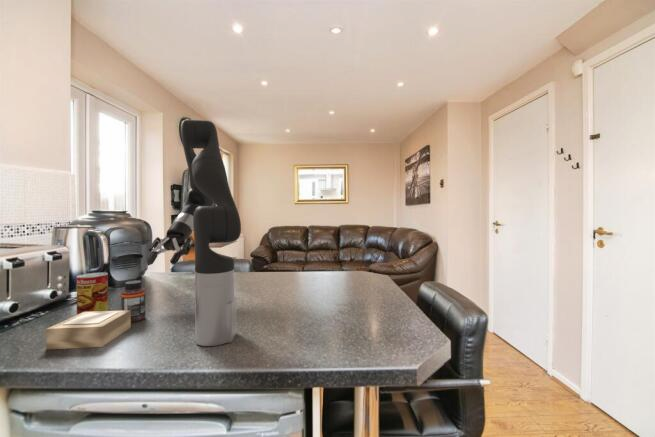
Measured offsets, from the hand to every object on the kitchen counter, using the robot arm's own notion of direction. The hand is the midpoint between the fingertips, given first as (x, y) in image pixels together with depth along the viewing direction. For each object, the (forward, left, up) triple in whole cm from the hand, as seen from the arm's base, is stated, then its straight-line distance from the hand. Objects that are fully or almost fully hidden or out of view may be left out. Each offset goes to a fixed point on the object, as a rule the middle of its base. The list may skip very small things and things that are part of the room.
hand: (160, 263), depth 98 cm
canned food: (+20, +2, -15) cm, 25 cm away
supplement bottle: (+3, +11, -15) cm, 19 cm away
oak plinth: (+6, +24, -15) cm, 29 cm away
